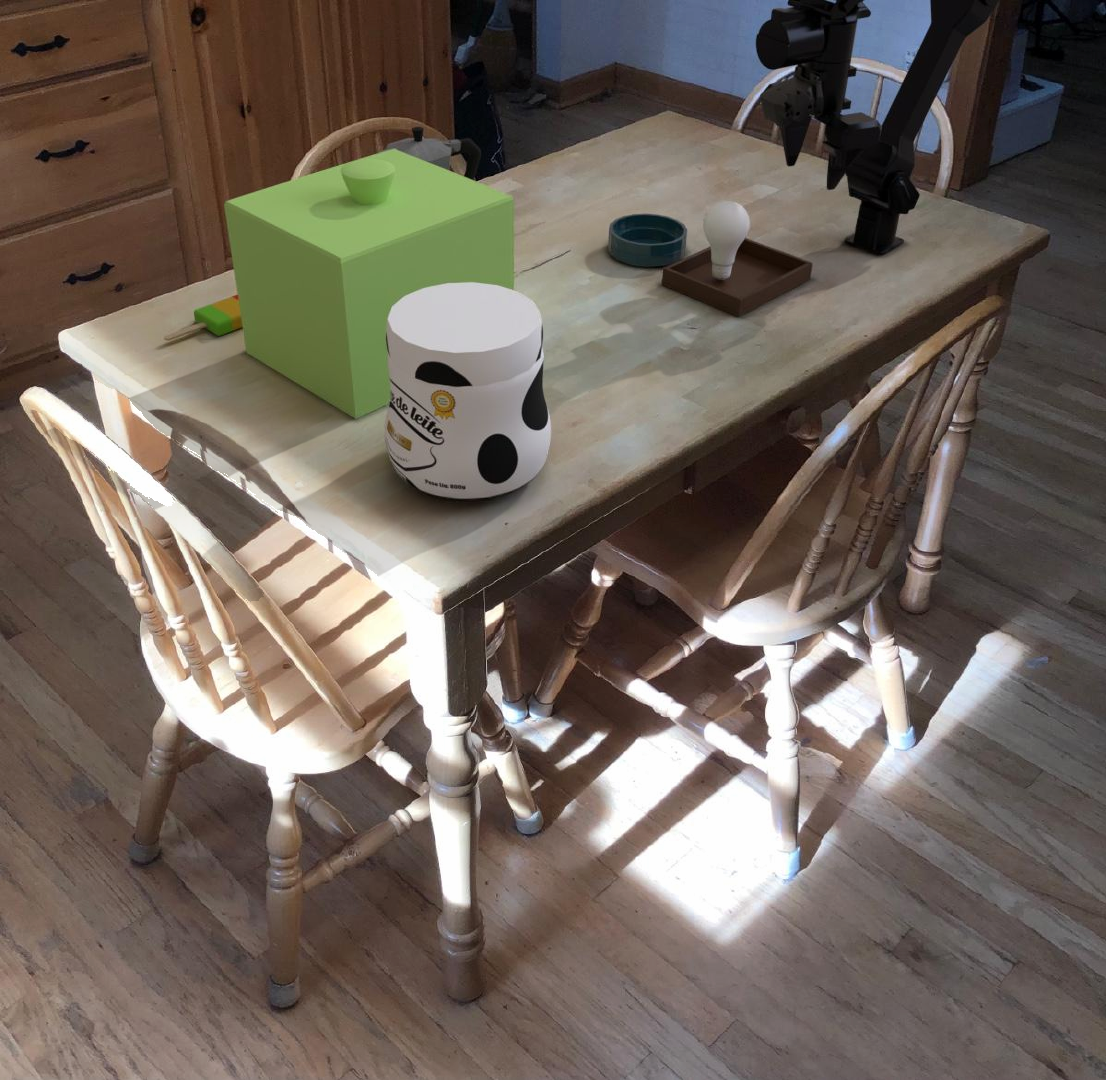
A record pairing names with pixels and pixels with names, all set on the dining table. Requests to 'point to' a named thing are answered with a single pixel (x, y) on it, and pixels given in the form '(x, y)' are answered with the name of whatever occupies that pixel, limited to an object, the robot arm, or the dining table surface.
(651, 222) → the bowl
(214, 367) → the dining table surface
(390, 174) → the canister
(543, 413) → the milk container
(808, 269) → the tray
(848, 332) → the dining table surface
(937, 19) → the robot arm
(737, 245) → the lightbulb
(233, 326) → the popsicle
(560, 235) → the dining table surface
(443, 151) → the coffeepot
